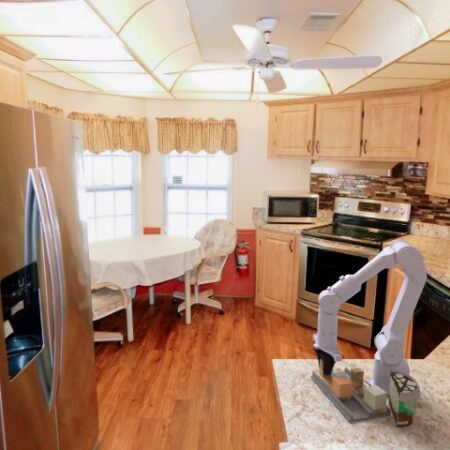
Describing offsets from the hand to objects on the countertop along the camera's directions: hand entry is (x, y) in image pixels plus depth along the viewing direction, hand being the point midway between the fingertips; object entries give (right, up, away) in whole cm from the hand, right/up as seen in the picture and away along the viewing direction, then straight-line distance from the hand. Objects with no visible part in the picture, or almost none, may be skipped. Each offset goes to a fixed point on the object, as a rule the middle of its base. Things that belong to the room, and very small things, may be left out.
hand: (325, 372), depth 117 cm
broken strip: (+9, -4, -10) cm, 14 cm away
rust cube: (+2, -2, -9) cm, 10 cm away
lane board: (+5, -4, -7) cm, 9 cm away
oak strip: (+1, -4, -4) cm, 6 cm away
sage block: (+10, -3, -14) cm, 17 cm away
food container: (+17, -6, -17) cm, 24 cm away
